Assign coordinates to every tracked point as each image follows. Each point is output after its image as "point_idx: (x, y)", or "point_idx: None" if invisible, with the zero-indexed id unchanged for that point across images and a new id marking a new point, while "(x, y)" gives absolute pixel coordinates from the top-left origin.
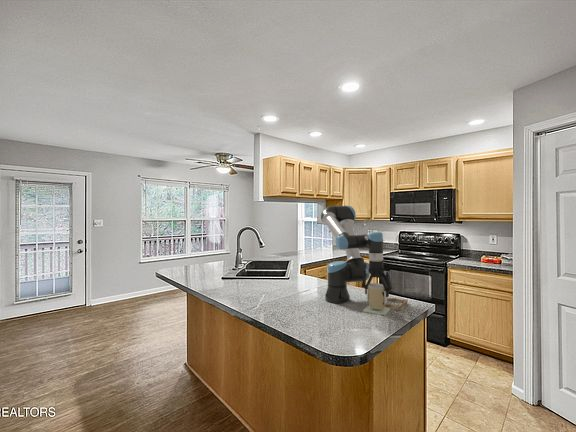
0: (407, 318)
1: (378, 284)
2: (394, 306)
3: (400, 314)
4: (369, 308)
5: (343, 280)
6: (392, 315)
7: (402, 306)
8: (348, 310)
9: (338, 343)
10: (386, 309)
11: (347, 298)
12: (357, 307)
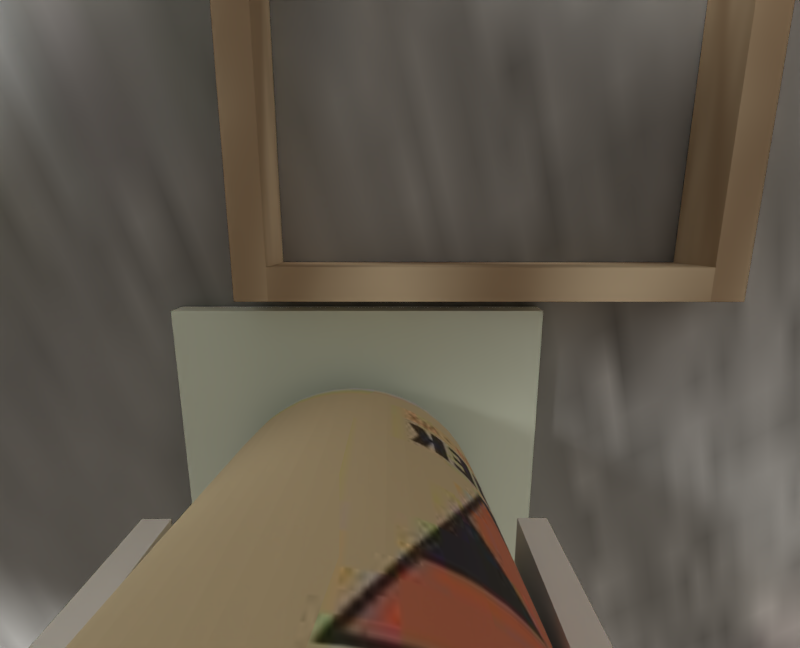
0: (785, 577)
1: None
2: (606, 300)
3: (692, 477)
4: None
5: None
6: (597, 560)
7: (745, 244)
8: (32, 641)
9: None
10: (494, 440)
11: None
12: (63, 475)
